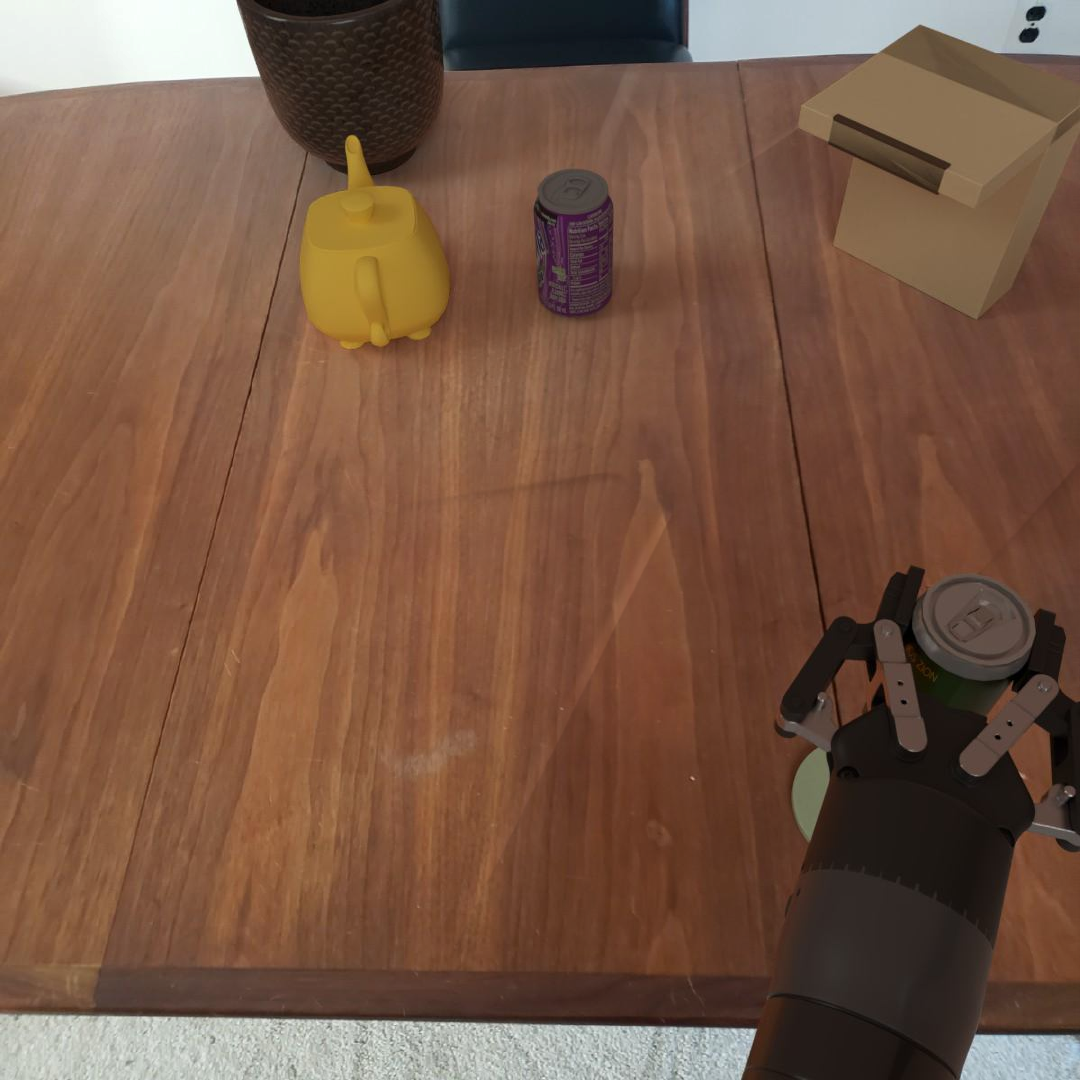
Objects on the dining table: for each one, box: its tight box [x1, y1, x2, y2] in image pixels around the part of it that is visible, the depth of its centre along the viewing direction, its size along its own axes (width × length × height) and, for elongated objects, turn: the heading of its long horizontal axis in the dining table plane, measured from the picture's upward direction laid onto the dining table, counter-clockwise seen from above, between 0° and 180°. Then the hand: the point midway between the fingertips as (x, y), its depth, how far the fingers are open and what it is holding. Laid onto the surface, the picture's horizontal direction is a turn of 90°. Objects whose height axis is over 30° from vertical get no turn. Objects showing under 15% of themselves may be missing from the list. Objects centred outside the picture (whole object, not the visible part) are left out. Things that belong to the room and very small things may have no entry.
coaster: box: [790, 747, 830, 844], centre depth 63 cm, size 9×9×1 cm
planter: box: [235, 0, 445, 176], centre depth 102 cm, size 20×20×19 cm
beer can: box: [861, 572, 1036, 717], centre depth 49 cm, size 5×5×12 cm
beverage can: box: [532, 168, 614, 318], centre depth 89 cm, size 7×7×12 cm
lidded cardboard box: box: [797, 24, 1080, 321], centre depth 85 cm, size 20×16×20 cm
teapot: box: [299, 135, 451, 350], centre depth 89 cm, size 14×20×13 cm
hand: (975, 598), depth 47 cm, fingers closed on beer can, 5 cm apart
